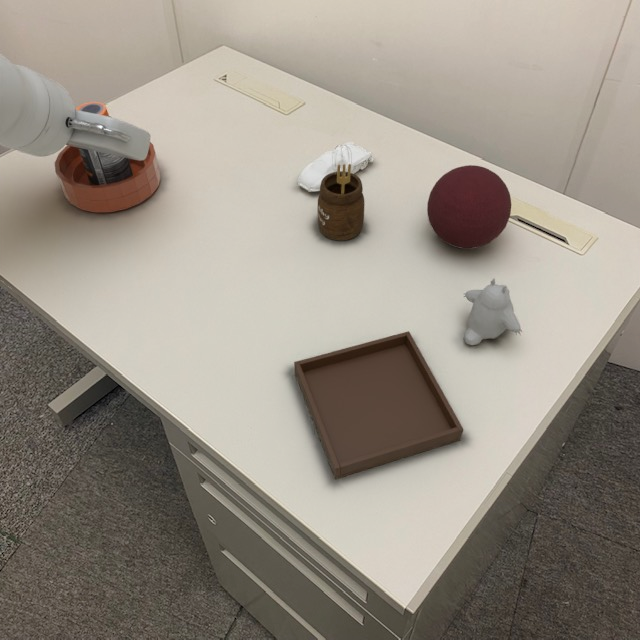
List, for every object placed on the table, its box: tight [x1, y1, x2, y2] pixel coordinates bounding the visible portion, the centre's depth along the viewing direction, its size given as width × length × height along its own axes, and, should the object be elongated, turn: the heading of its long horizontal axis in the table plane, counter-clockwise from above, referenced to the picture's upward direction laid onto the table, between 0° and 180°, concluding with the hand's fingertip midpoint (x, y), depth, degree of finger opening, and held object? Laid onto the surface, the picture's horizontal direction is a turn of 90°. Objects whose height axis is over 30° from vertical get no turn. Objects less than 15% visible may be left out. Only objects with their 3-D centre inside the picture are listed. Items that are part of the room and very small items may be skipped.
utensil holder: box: [317, 143, 365, 241], centre depth 79 cm, size 6×6×12 cm
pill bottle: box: [75, 101, 133, 185], centre depth 86 cm, size 6×6×11 cm
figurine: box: [463, 277, 523, 346], centre depth 69 cm, size 8×6×8 cm
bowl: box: [54, 141, 162, 213], centre depth 89 cm, size 13×13×4 cm
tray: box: [293, 331, 465, 480], centre depth 65 cm, size 13×13×2 cm
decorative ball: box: [426, 164, 512, 250], centre depth 79 cm, size 10×10×10 cm
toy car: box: [297, 141, 374, 193], centre depth 90 cm, size 5×12×4 cm, turn 135°
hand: (102, 142), depth 86 cm, fingers open, 8 cm apart
